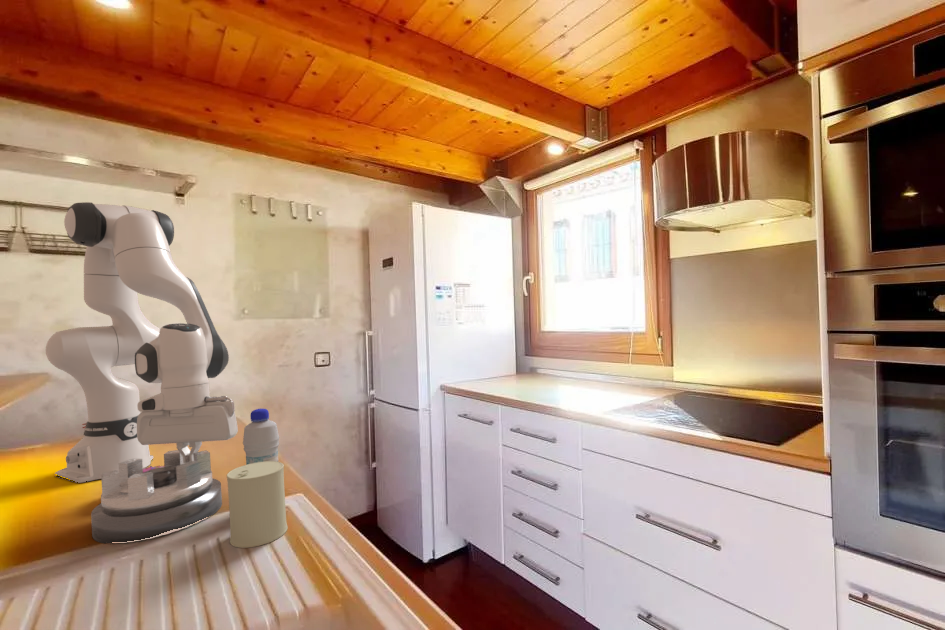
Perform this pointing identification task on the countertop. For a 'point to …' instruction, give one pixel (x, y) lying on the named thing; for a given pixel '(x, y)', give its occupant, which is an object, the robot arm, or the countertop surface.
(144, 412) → the robot arm
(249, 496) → the can
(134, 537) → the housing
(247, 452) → the bottle
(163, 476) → the toothed metal gear
